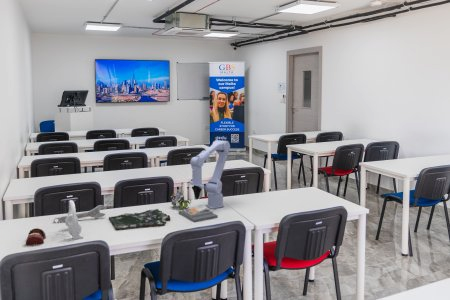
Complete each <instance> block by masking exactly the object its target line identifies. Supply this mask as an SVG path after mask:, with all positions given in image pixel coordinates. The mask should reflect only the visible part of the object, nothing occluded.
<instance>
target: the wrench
mask: <svg viewBox="0 0 450 300" xmlns="http://www.w3.org/2000/svg"><path fill="white" fill-rule="evenodd" d="M102 209H103V210H107V206H105V205H102V204H99V205H97V206H96V207H94V208H92V209H91V210H89V211H84V212H80V213H76V216H77V218H78V220H79V219H83V218H87V217H91V218H94V219H95V220H99V218H103V217H104V216H106V213H103V212H100V211H101V210H102ZM67 216H68V215H63V216H60V217H59V216H58V217H55V218H54V219H53V223H54V224H59V222H61V223H65V219H66V217H67ZM55 220H58V221H55ZM56 222H57V223H56Z"/></svg>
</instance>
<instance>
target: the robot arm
mask: <svg viewBox="0 0 450 300" xmlns="http://www.w3.org/2000/svg"><path fill="white" fill-rule="evenodd" d="M230 148H231V144H230V142H229V141H228V140H218V139H215V140H214V141H213V142H212V144H211V145H210V146H209V147H208V148H207V150H206V149H205V150H202V151H200V153H199V154H197V155H196V156H193V157H191V159H190V161H189V164H190V166H191V170H192V174H191V175H192V177H191V178H192V180H190V181H189V185H190V186H191V189H192V192H193V195H194V198H195V199H199V198H200V195H201V192H202V190H205V192H206V193H207V204H205V205H204V206H205V207H207V208H208V209H210V210H211V209H212V210H213V209H217V208H223V207H224V195H223V193H222V190H223V189H222V187H223V183H222V181H221V178H222V174H223V171H224V169H225V165H226V161H227V159H228V155H229V152H230ZM214 152H216V154H218V157H217V160H216V164H215V167H214V171H213V173H212V176H211V178H210V179H207V183H205V185H204V184H203V182H202V181H203V180H202V176H203V175H202V170H203V168H202V167H203V166H204V164H205V162H206V161H207V160H208V159H209V158H210V155H212V154H213V153H214Z"/></svg>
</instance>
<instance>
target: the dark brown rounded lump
mask: <svg viewBox="0 0 450 300" xmlns="http://www.w3.org/2000/svg"><path fill="white" fill-rule="evenodd" d="M46 238H47V236H46V233H45V232H44V230H43V229H42V228H39V227H38V228H32V229H31V230H29V232H28V235H27V238H26V240H25V246H33V245H43V244H44V243H45V241H44V239H46Z"/></svg>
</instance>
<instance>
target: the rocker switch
mask: <svg viewBox="0 0 450 300" xmlns="http://www.w3.org/2000/svg"><path fill="white" fill-rule="evenodd" d="M190 209H191V210H189V211H188V212H189V213H191V214H192V215H193V214H198V213H200V212H203V211H205V210H207V209H208V207H206V206H205V205H203V204H200V205H197V206H195V207H193V208H190Z"/></svg>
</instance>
